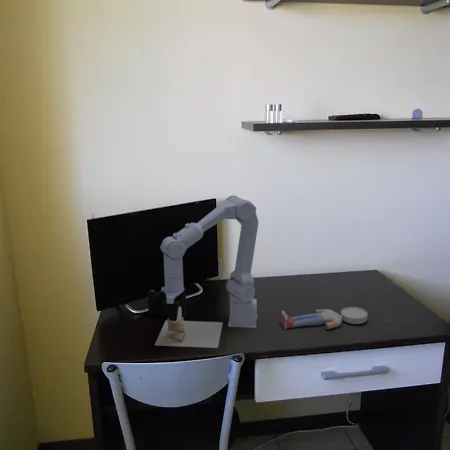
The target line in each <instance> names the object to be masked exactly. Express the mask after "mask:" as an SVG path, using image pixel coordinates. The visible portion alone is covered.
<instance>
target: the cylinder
mask: <svg viewBox="0 0 450 450" xmlns="http://www.w3.org/2000/svg"><path fill="white" fill-rule="evenodd" d="M169 322H170V323H171V324H179V323H181V322H182V313H181V307H180V306H179V308H178V315H177V320H176V321H170V320H169Z"/></svg>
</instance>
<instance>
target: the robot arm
mask: <svg viewBox="0 0 450 450" xmlns="http://www.w3.org/2000/svg"><path fill="white" fill-rule="evenodd" d="M256 211H257V207H256V206H255V205H254V203H252V202H251V201H250V200H247V199H243V198H241V197H239V196H237V195H229V196H228V197H227V198H225V199H224V200H221V202H220V203H219V205H218V206H216V207H215V208H214V209H213V210H212V211H210V212H209V213H208V214H207V215H205V216H204V217H203V218H201V220H199V221H198V222H190V223H186V224H184V227H183V228H182V229H180V230H179V231H177V232H174V233H173V234H172V236H167V237H165V238H164V239H163V240H162V241H161V245H160V246H159V248H160V250H161V251H160V252H162V253H163V269H164V270H163V271H164V272H163V273H164V274H163V275H164V286H162V287H161V290H162V291H165V293H166V296H167V299H163V301H162V304H163V306H164V307H165V309H166V311H167V314H168V317H167V318H169V320H170V321H176V320H177V315H178V308H179V306H180V307H182V300H183V296H184V295H185V292H186V290H187V287H186V286H184V271H183V270H184V267H183V266H184V265H183V264H184V263H183V256H184V255H185V253H186V251H187V250H188V249H189V248H190V247H191V246H193V245H195V243H196V242H198V241H200V240H201V239H202V238H203V236H204V233H205V232H206V231H207V230H209V229H211V228H212V227H213V226H215V225H217V224H219V223H220V222H222V221H223V220H236V221H237V222H238V223H239V224H240V233H239V239H238V245H237V252H236V259H235V266H234V267H235V268H234V270H233V271H231V273H230V275H229V278H228V280H227V282H226V286H225V287H226V291H227V292H228V293H229V317H228V319H229V320H228V327H230V328H249V329H250V328H251V329H255V328H257V322H258V321H257V320H258V319H259V318H258V313H257V312H258V308H257V307H258V300H257V298H254V297H255V295H256V289H255V285H254V284H255V280H254V276H252V268H253V262H254V261H253V260H254V255H255V254H254V253H255V249H256V248H255V247H256V241H257V234H258V228H259V218H258V216H257V212H256ZM161 290H160V291H161Z"/></svg>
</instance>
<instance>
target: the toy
mask: <svg viewBox="0 0 450 450" xmlns="http://www.w3.org/2000/svg"><path fill="white" fill-rule="evenodd" d="M368 313H369V312H368V311H367V310H366V309H364V308H361V307H359V306H358V307H357V306H347V307H346V306H345V307H344V308H342V309H341V310H340V314H339V313H338V312H336V311H334V310H333V309H330V308H329V309H327V308H326V309H325V308H322V309H318V308H317V309H316V308H315V309H314V313H309V314H302V315H297V316H291V315H290V316H288V314H286V311H285V310H280V324H281V326H283V329H284V330H288V329H290V328H291V329H293V328H298V327H303V326H321V325H324V327H325V329H326V330H331V329H334V328H338V327H340V326H341V325H342V323H343V322H345V323H347V324H352V325H360V324H364V323H365V322H367V321H368V316H369V315H368Z"/></svg>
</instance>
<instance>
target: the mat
mask: <svg viewBox="0 0 450 450" xmlns="http://www.w3.org/2000/svg"><path fill="white" fill-rule="evenodd" d="M183 321H184V326H185V337H184V340H183V342H167V331H168V319H167V320H165V322H164V323H163V325H162V328H161V331H160V332H159V335H158V336H157V339H156V341H155V343H154V346H158V347H159V346H161V347H163V346H165V347H181V348H182V347H183V348H185V347H186V348H187V347H188V348H189V347H190V348H191V347H192V348H207V349H208V348H211V349H212V348H213V349H218V348H219V345H220V339H221V333H222V329H223V324H224V323H223V322H222V321H221V322H220V321H197V320H196V321H195V320H194V321H193V320H191V321H190V320H183Z"/></svg>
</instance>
